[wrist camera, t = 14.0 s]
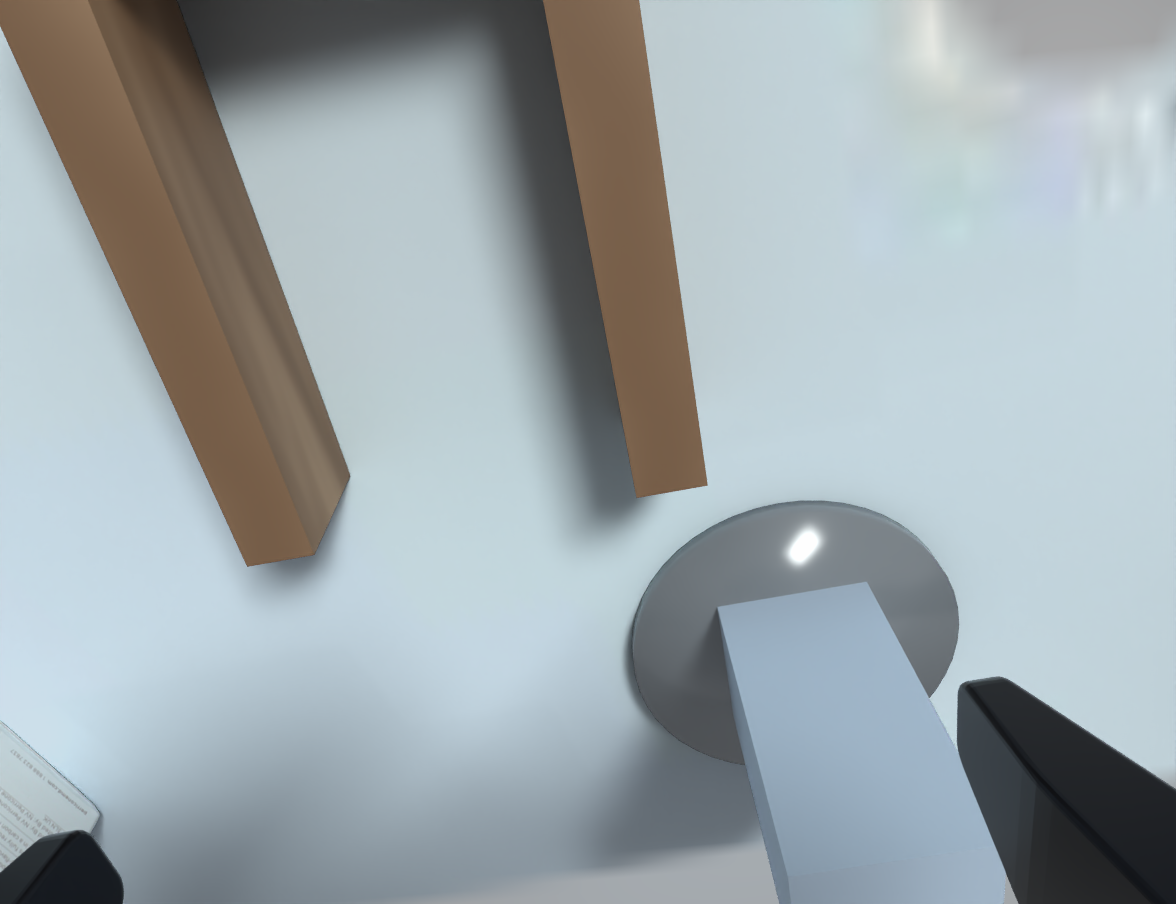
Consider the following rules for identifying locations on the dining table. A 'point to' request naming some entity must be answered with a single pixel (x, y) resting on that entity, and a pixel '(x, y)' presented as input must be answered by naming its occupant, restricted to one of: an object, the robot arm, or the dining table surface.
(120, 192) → the frame
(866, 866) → the block
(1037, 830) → the robot arm
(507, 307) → the dining table surface
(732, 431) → the dining table surface
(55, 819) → the supplement box
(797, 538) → the coaster
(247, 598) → the dining table surface
